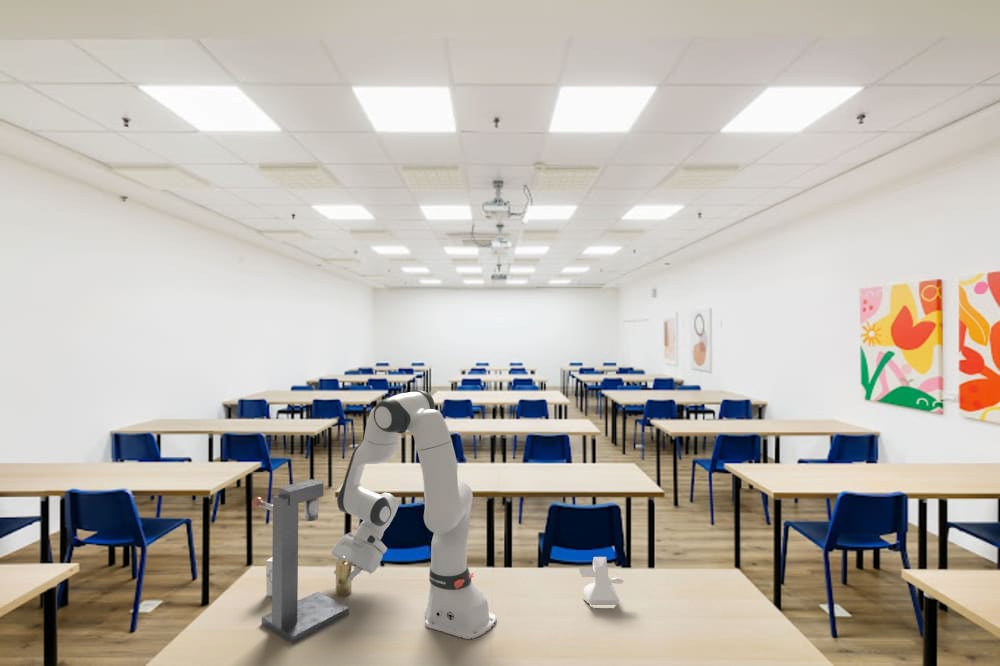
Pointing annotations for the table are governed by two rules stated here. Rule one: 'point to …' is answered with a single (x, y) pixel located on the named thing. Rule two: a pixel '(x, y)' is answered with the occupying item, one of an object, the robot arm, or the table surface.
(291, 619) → the bench press
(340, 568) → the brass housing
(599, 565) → the white irregular piece
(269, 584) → the ink cartridge box
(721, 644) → the table surface
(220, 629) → the table surface
